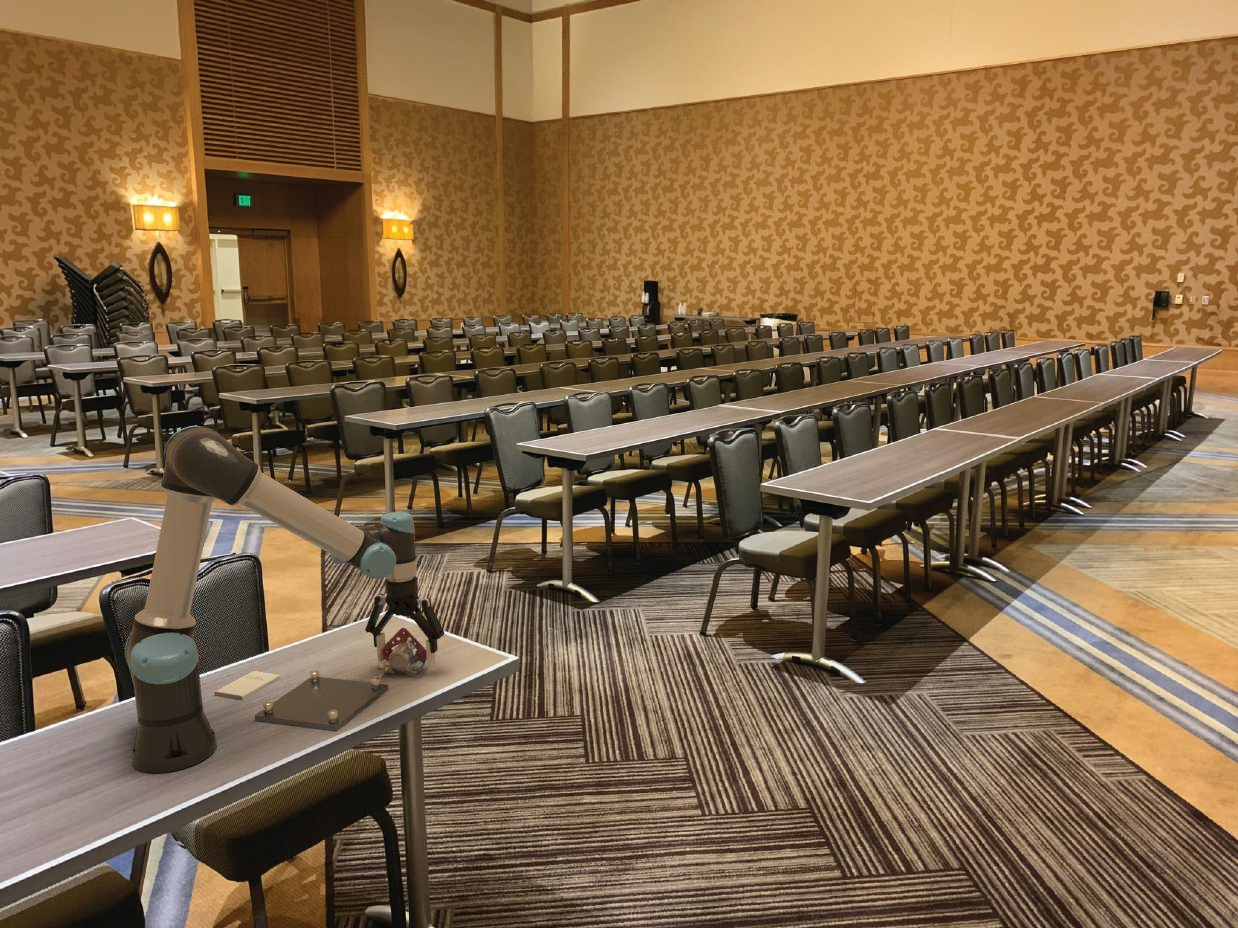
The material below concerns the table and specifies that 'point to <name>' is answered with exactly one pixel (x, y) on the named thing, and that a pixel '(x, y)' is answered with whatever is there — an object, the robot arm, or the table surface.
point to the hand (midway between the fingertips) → (406, 662)
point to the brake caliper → (402, 656)
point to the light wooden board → (247, 685)
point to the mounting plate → (322, 702)
